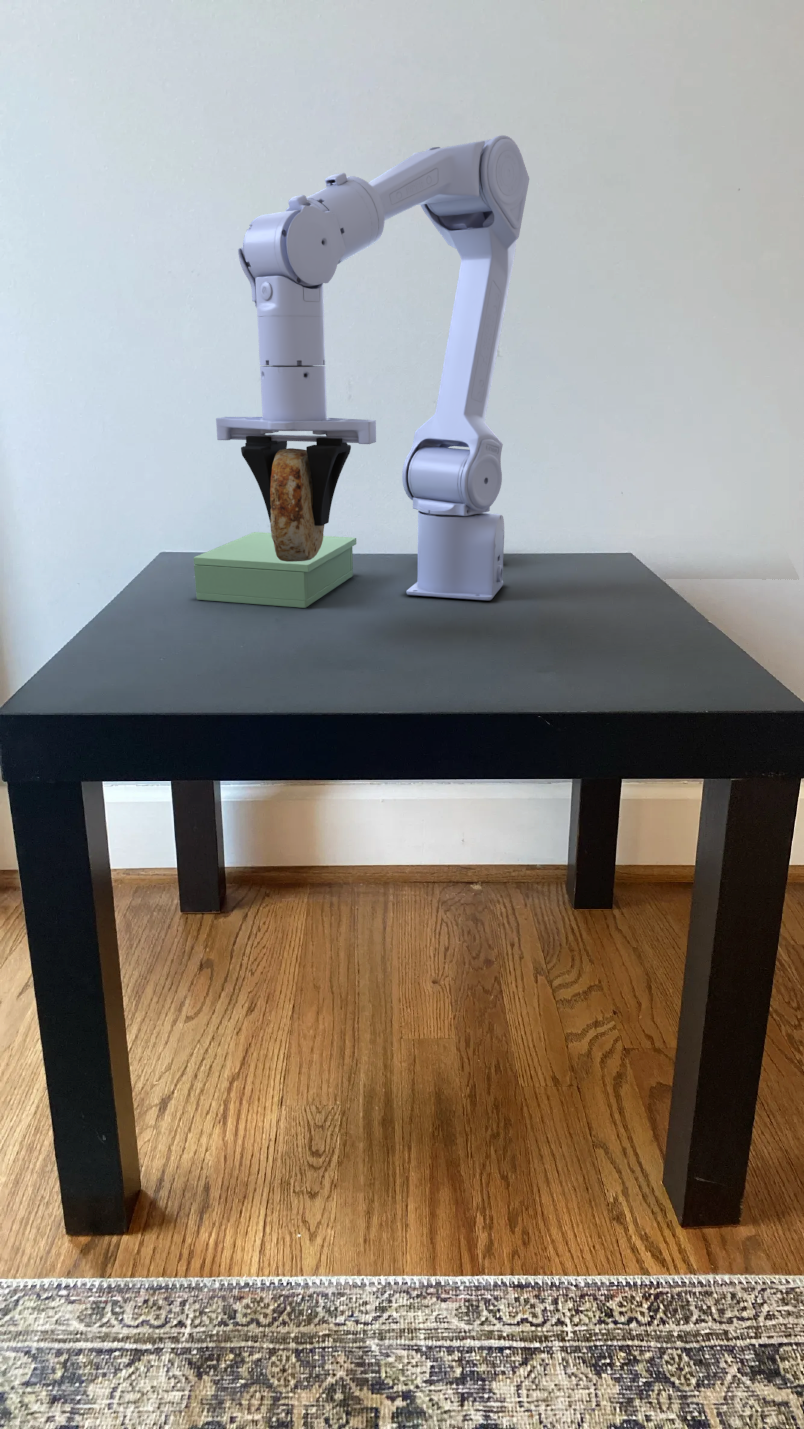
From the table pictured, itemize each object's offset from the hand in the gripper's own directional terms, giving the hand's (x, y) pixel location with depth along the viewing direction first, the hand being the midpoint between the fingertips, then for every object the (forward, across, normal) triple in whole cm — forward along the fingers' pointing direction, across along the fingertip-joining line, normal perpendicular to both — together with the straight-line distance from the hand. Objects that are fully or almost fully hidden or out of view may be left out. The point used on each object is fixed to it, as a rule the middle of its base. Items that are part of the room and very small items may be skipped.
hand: (299, 522), depth 87 cm
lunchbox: (+10, -9, +16) cm, 21 cm away
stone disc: (+4, 0, 0) cm, 4 cm away
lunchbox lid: (+7, -9, +16) cm, 19 cm away
